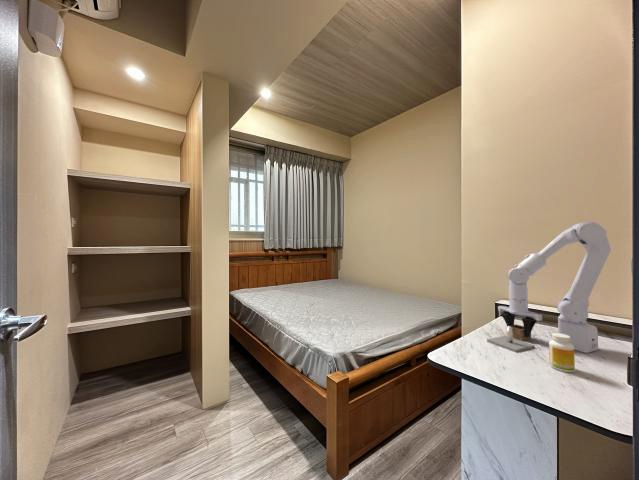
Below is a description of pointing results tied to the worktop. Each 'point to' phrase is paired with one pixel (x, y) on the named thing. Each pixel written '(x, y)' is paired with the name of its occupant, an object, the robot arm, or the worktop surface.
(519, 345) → the peg base
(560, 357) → the supplement bottle
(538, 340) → the worktop surface
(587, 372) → the worktop surface
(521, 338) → the square ring
